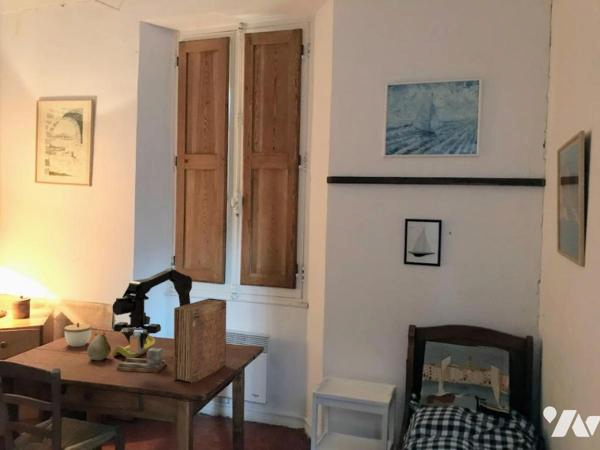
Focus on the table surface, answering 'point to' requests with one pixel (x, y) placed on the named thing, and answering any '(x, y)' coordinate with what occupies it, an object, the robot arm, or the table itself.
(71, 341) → the lidded bowl
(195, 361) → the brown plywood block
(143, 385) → the table surface
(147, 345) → the plastic component
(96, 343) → the fruit
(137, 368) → the rail
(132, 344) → the grey green block
